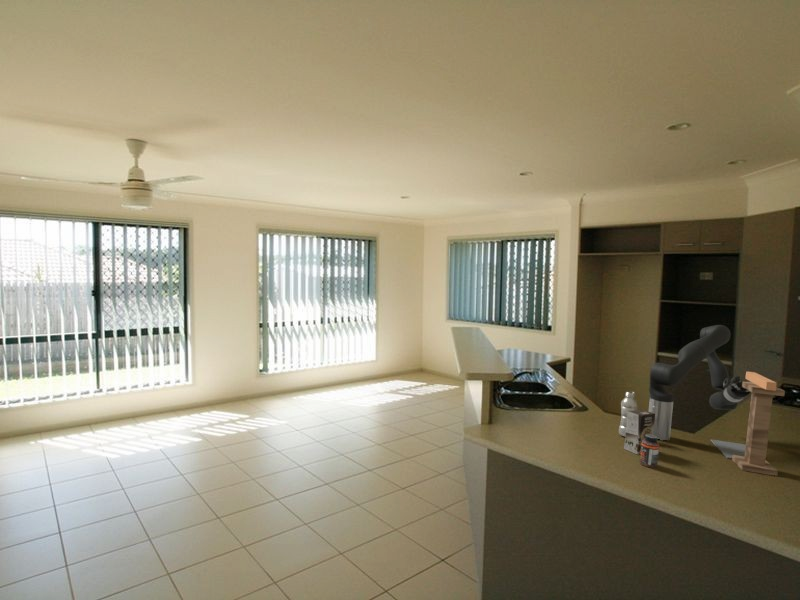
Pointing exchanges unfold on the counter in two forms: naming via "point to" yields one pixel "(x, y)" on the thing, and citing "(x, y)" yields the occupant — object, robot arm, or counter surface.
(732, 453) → the rubber mat
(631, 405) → the plastic bottle
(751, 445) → the walnut stand
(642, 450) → the supplement bottle
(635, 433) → the coffee box
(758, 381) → the terracotta bar
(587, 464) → the counter surface
